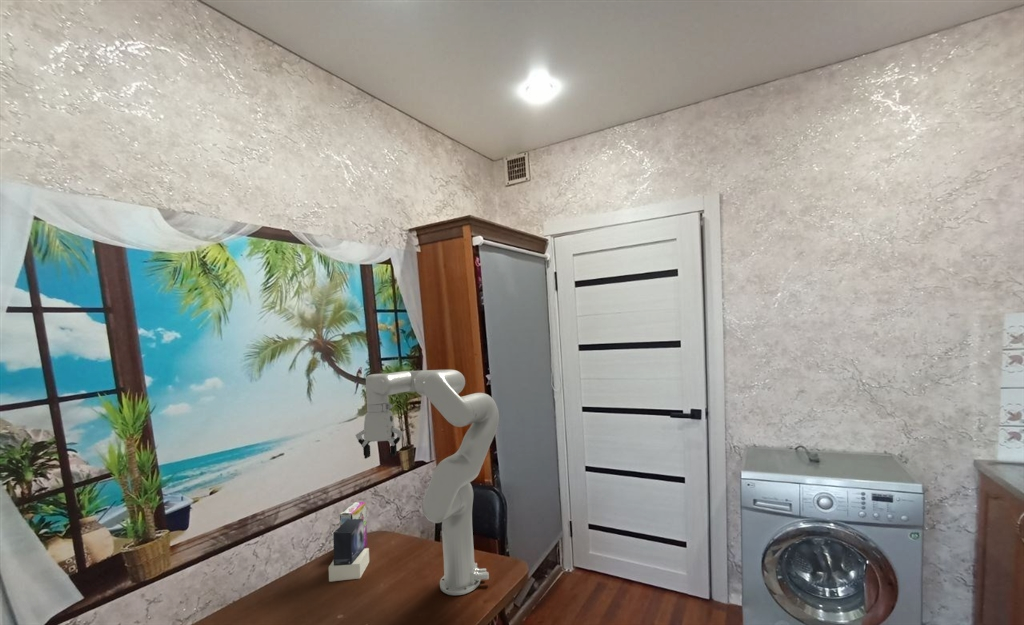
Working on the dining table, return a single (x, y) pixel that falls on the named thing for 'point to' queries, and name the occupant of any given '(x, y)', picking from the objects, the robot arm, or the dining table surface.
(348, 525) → the small box
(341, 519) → the candy bar box
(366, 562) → the base block
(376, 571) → the dining table surface
